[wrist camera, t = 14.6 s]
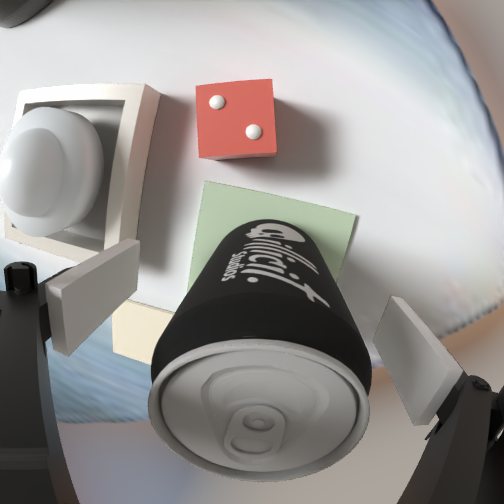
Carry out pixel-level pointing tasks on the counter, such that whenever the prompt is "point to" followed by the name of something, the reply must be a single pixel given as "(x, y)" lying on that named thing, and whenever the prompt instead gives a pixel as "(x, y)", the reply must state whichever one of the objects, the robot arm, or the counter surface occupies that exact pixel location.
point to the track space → (138, 329)
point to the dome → (50, 171)
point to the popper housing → (115, 162)
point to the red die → (236, 120)
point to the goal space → (266, 207)
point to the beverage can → (261, 362)
